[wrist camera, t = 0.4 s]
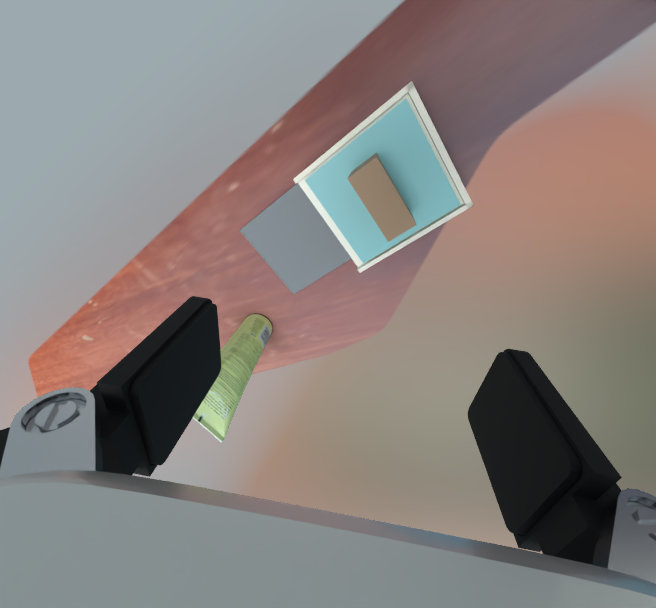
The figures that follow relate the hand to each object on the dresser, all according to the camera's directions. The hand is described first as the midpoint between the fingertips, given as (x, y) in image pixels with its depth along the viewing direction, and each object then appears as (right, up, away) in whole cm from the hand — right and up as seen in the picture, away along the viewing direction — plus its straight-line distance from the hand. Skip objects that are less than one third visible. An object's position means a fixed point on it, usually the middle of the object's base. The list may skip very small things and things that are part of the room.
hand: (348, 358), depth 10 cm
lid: (+5, +14, +22) cm, 26 cm away
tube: (-12, -2, +40) cm, 42 cm away
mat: (-5, +10, +31) cm, 33 cm away
